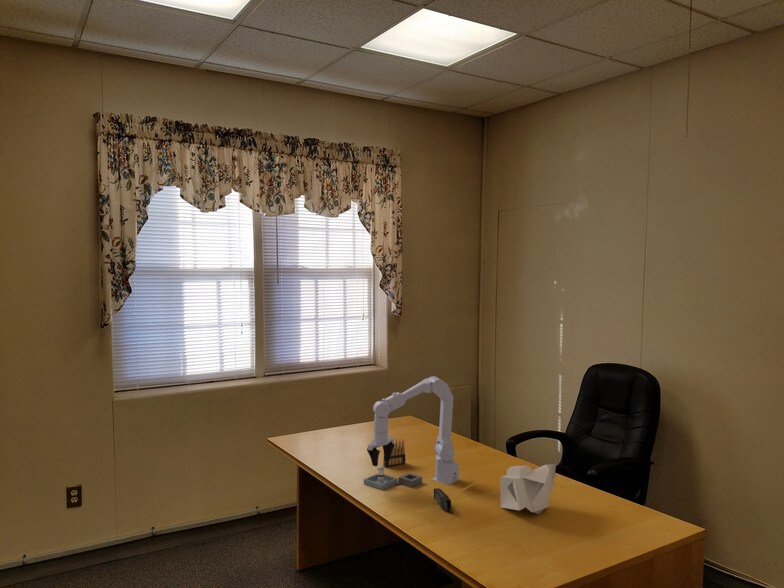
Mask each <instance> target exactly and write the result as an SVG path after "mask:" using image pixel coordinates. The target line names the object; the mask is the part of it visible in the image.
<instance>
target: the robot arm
mask: <svg viewBox="0 0 784 588" xmlns="http://www.w3.org/2000/svg"><path fill="white" fill-rule="evenodd" d="M422 393H426V394H431V393H433V394H435V395H436V396H437V397H438V398H439V399H440V409H439V426H438V436H437V437H436V443H434V447H433V449H434V453H435V454H436V456H435V476H434V477H432V478H431V480H432V481H436V482H438V483H442V484H446V485H451V484H454V483H456V482H458V481H459V480H460V477H459V475H460V472H459V471H460V469H459V468H460V467H459V463H458V462H457V461H455V460H454V459H453V458H454V457H455V450H454V448H453V447H454V443H453V440H452V430H453V429H452V428H453V427H452V425H453V408H454V395H453V393H452V391H451V389H450V387H449V384H448V383H447V382H445V381H444V380H443V379H440V378H439V377H438V376H435V375H431V376H429V377H428V378H424V379H422V380H421V381H420V382H418V383H417V384H415V385H413V386H411V387H409V388H408V389H407V390H405V391H403V392H398V391H397V392H392V394H391V395H390V396H388V397H386V398H382V399H381V400H378V401H376V402H375V403H374V404H373V407H372V412H373V413H374V417H373V418H374V420H373V430H374V432H373V437H374V439H372V442H370V444H367V448H366V450H367V453H368V455H369V457H370V460H371V465H372V466H374V467H377V466H379V457H380V453H381V450H380V449H379V450H378V448H380V447H382V450H383V461H384V460H385V461H388V462H389V460H390V456H391V453H392V450H393V448H395V438H394V437H392V436H390V437H389V417H388V416H389V414H390V413H391V412H393V411H395V410H396V409H399V408H400V407H402V406H404V405H405V404H406V401H407V400H410V399H411V398H414V397H415V396H418V395H420V394H422ZM393 442H394V444H392V443H393Z"/></svg>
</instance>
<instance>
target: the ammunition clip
mask: <svg viewBox="0 0 784 588" xmlns="http://www.w3.org/2000/svg"><path fill="white" fill-rule="evenodd" d="M392 444H395V447H394V448H393V450H392V453H391V456H390V460H389V462H388V461H385V460H384V459H383V464H382V465H383V466H384V469H385V468H391V467H397V466H401V465H406V452H405V451H406V447H405V439H404V438H402V440H401V439H399V440H397V439H396V440H395V441H394V442H393V443H392Z"/></svg>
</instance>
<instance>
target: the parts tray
mask: <svg viewBox="0 0 784 588" xmlns="http://www.w3.org/2000/svg"><path fill="white" fill-rule="evenodd" d="M397 484H399V477H395V476H391V475H388V474H385V473H384V484H380V483H377V473H376V474H373V475H370V476H368V477H366V478H363V485H365V486H369V487H371V488H375V489H378V490H381V491H383V490H386V489H387V488H389V487H392V486H394V485H397Z"/></svg>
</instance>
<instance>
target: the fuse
mask: <svg viewBox="0 0 784 588" xmlns="http://www.w3.org/2000/svg"><path fill="white" fill-rule="evenodd" d="M376 469H377V473H376V474H377V483H380V484H384V474H385V468H384V466H383V464H382V465H380V464H378V465H377V466H376Z"/></svg>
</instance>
